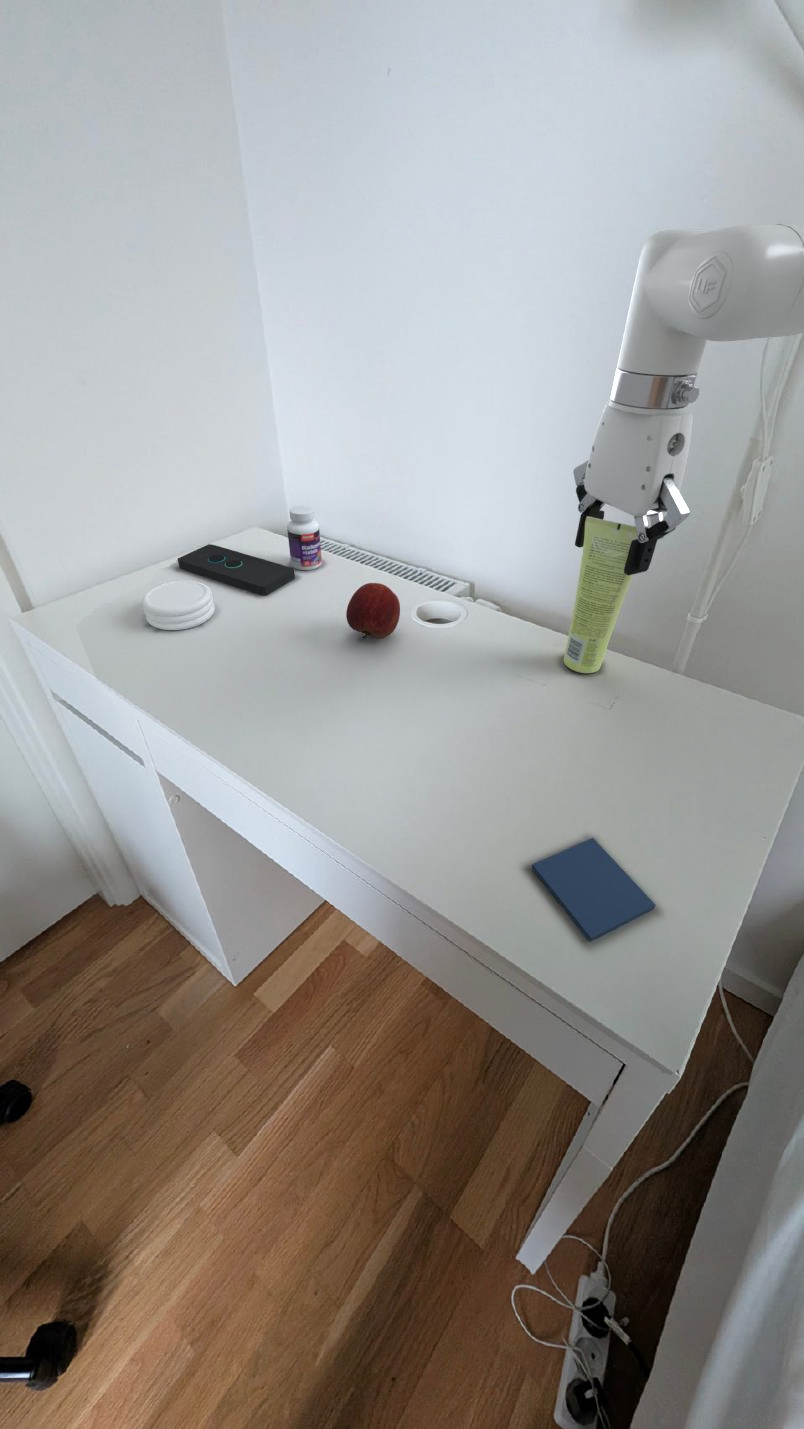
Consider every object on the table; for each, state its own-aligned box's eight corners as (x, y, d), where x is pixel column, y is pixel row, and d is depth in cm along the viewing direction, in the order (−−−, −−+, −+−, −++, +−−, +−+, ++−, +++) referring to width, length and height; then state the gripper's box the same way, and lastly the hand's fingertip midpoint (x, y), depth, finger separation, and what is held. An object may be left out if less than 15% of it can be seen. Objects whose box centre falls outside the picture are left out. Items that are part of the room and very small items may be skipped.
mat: (654, 908, 49) (656, 905, 49) (589, 942, 47) (591, 938, 47) (591, 841, 55) (593, 837, 55) (531, 868, 52) (532, 864, 52)
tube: (594, 652, 81) (630, 512, 68) (612, 672, 77) (653, 528, 65) (556, 656, 80) (586, 516, 67) (572, 677, 76) (607, 532, 64)
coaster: (225, 602, 91) (221, 581, 89) (199, 634, 83) (193, 613, 81) (165, 597, 92) (160, 576, 90) (134, 628, 85) (127, 607, 82)
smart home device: (210, 542, 105) (296, 567, 97) (212, 551, 106) (297, 577, 98) (174, 558, 99) (262, 586, 91) (176, 568, 100) (264, 596, 92)
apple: (411, 638, 83) (412, 587, 78) (366, 655, 79) (364, 603, 74) (381, 617, 88) (380, 568, 83) (337, 633, 84) (334, 582, 79)
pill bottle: (306, 574, 99) (300, 517, 93) (285, 565, 102) (278, 510, 96) (328, 563, 102) (324, 508, 96) (307, 555, 105) (301, 501, 99)
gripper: (752, 405, 53) (690, 582, 64) (618, 374, 65) (586, 528, 76) (692, 412, 50) (638, 595, 61) (565, 379, 62) (539, 537, 73)
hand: (609, 557), depth 69 cm, fingers open, 7 cm apart
